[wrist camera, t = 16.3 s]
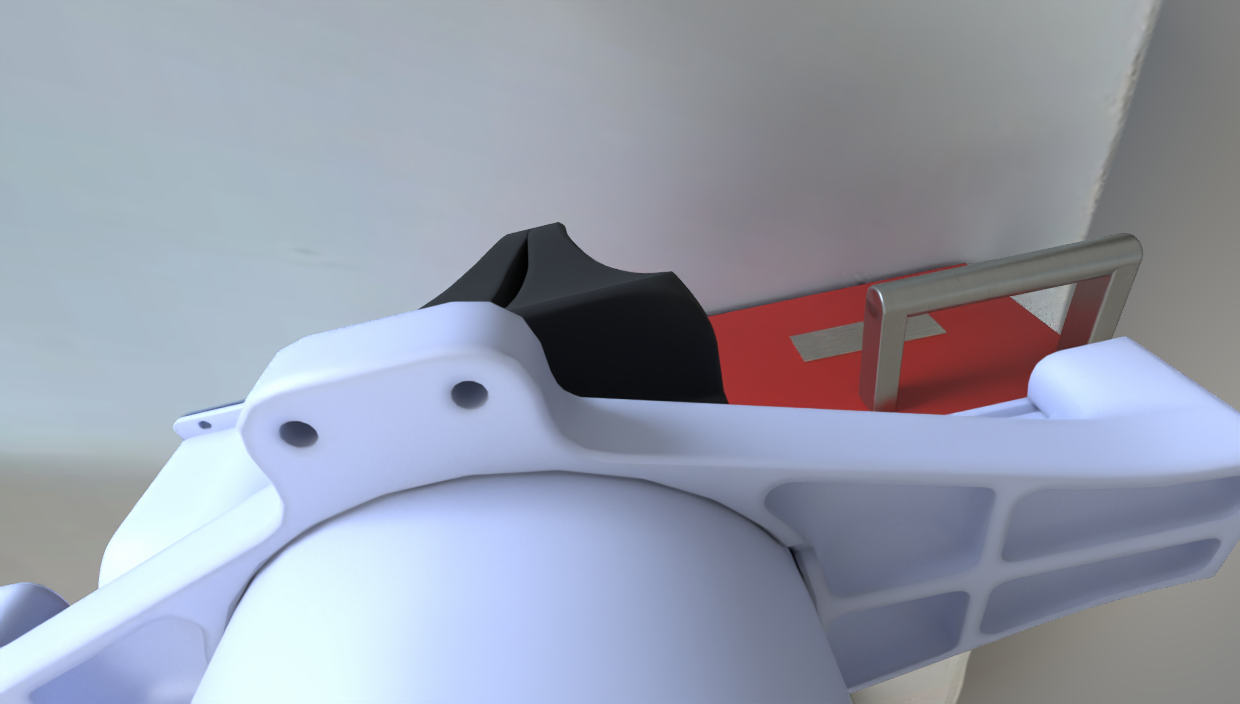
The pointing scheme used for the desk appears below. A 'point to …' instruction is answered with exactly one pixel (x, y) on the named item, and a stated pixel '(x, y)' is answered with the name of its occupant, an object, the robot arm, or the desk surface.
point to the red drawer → (924, 333)
